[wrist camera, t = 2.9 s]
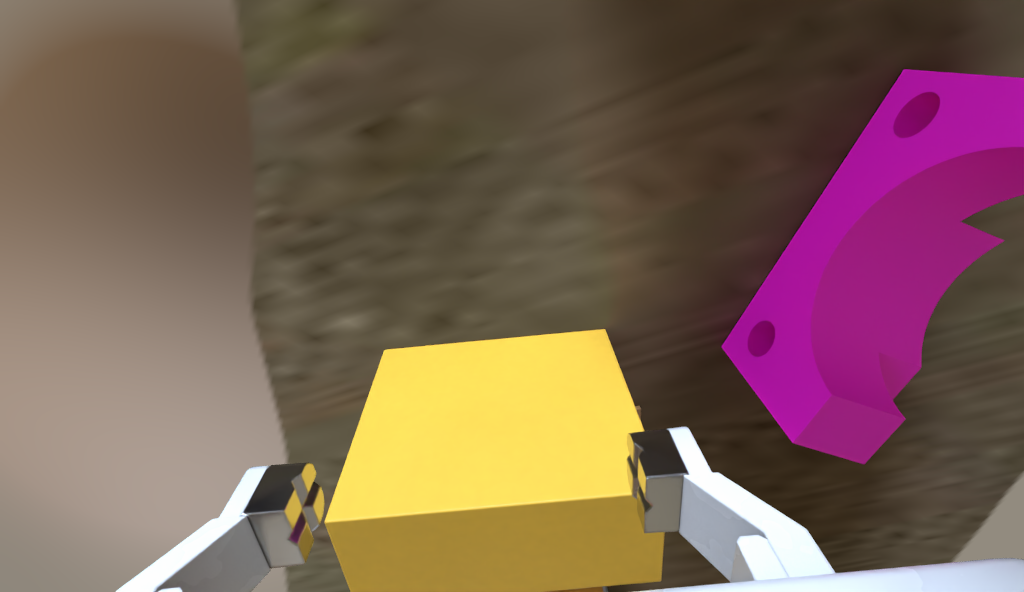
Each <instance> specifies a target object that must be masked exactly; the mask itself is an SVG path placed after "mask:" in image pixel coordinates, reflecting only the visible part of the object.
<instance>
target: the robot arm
mask: <svg viewBox="0 0 1024 592" xmlns="http://www.w3.org/2000/svg"><path fill="white" fill-rule="evenodd" d="M627 447H628V450H629V453H630V455H629V456H628V457H627V475H628V481H629V486H630V490H631V493H632V496H633V497H634V498H635V499H637V512H638V515H639V518H640V521H641V524H642V528H643V531H644V533H657V532H673V531H679V533H680V534H681V535H682V536H683V537H684V538H685V539H686V540H687V541H688V542H689V543H690V544H691V545H692V546H694V547H695V548H696V549H697V550H698V551H699V552H700V553H701V554H702V555H703V556H704V557H705V558H706V559H707V560H708V561H709V562H710V563H711V564H712V565H713V566H714V567H716V568H717V569H718V570H719V571H720V572H721V573H722V574H723V575H724V576H725V577H726V578H727V579H728V580H729V581H730V583H723V584H711V585H700V586H689V587H678V588H667V589H656V590H645V591H634V592H1024V560H1023V559H1015V558H1000V559H984V560H975V561H965V562H955V563H943V564H932V565H921V566H910V567H899V568H888V569H877V570H866V571H855V572H844V573H835V572H834V570H833V569H832V567H831V565H830V564H829V562H828V561H827V559H826V558H825V556H824V555H823V553H822V552H821V550H820V549H819V547H818V546H817V544H816V543H815V541H814V540H813V538H812V537H811V535H810V533H809V532H808V530H807V529H806V528H804V527H803V526H801V525H799V524H798V523H796V522H795V521H793V520H792V519H790V518H789V517H787V516H785V515H784V514H782V513H781V512H779V511H778V510H776V509H775V508H773V507H771V506H770V505H768V504H767V503H765V502H764V501H762V500H760V499H759V498H757V497H756V496H754V495H753V494H751V493H750V492H748V491H746V490H745V489H743V488H742V487H740V486H739V485H737V484H736V483H734V482H732V481H731V480H729V479H728V478H726V477H725V476H723V475H721V474H720V473H718V472H717V473H712V471H711V469H710V467H709V465H708V464H707V462H706V460H705V458H704V456H703V454H702V452H701V450H700V448H699V447H698V445H697V443H696V441H695V439H694V437H693V435H692V433H691V431H690V430H689V428H687V427H678V428H669V429H662V430H652V431H642V432H632V433H628V435H627ZM315 476H316V471H315V469H314V466H313V464H311V463H296V464H282V465H271V466H259V467H251V468H250V469H248V470H247V471H246V473H245V474H244V476H243V478H242V480H241V481H240V483H239V485H238V486H237V488H236V490H235V492H234V493H233V495H232V496H231V498H230V500H229V502H228V503H227V505H226V507H225V508H224V510H223V512H222V513H221V515H220V517H219V518H218V519H212V520H211V521H209V522H208V523H207V524H205V525H204V526H203V527H201V528H200V529H199V530H197V531H196V532H194V533H193V534H192V535H191V536H189V537H188V538H187V539H185V540H184V541H183V542H181V543H180V544H178V545H177V546H176V547H175V548H173V549H172V550H170V551H169V552H168V553H166V554H165V555H164V556H162V557H161V558H160V559H158V560H157V561H156V562H154V563H153V564H152V565H150V566H149V567H148V568H146V569H145V570H144V571H142V572H141V573H140V574H138V575H137V576H136V577H134V578H133V579H132V580H130V581H129V582H128V583H126V584H125V585H124V586H122V587H121V588H120V589H118V590H117V591H116V592H251V591H252V590H253V589H254V588H255V587H256V586H257V585H258V583H259V582H260V581H261V580H262V579H263V578H264V577H265V576H266V575H267V574H268V573H269V571H270V568H278V567H287V566H295V565H303V564H305V563H306V560H307V558H308V555H309V552H310V550H311V547H312V544H313V541H314V539H313V537H312V534H311V532H312V531H313V530H315V529H316V528H317V527H318V526H319V525H320V522H321V519H322V516H323V510H324V496H323V492H322V489H321V486H319V485H318V484H317V483H315V482H314V478H315Z"/></svg>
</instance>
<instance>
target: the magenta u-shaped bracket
mask: <svg viewBox="0 0 1024 592" xmlns="http://www.w3.org/2000/svg"><path fill="white" fill-rule="evenodd" d="M1020 195H1024V78H1015V77H1002V76H988V75H975V74H962V73H948V72H935V71H922V70H909V69H904V70H903V71H902V73H901V74H900V76H899V77H898V79H897V80H896V82H895V84H894V85H893V87H892V88H891V90H890V91H889V93H888V94H887V96H886V97H885V99H884V100H883V102H882V103H881V105H880V106H879V108H878V109H877V111H876V112H875V114H874V115H873V117H872V118H871V120H870V121H869V123H868V125H867V126H866V128H865V129H864V131H863V132H862V134H861V135H860V137H859V138H858V140H857V141H856V143H855V144H854V146H853V147H852V149H851V150H850V152H849V153H848V155H847V156H846V158H845V159H844V161H843V162H842V164H841V166H840V167H839V169H838V170H837V172H836V173H835V175H834V176H833V178H832V179H831V181H830V182H829V184H828V185H827V187H826V188H825V190H824V191H823V193H822V194H821V196H820V197H819V199H818V200H817V202H816V204H815V205H814V207H813V208H812V210H811V211H810V213H809V214H808V216H807V217H806V219H805V220H804V222H803V223H802V225H801V226H800V228H799V229H798V231H797V232H796V234H795V235H794V237H793V238H792V240H791V241H790V243H789V245H788V246H787V248H786V249H785V251H784V252H783V254H782V255H781V257H780V258H779V260H778V261H777V263H776V264H775V266H774V267H773V269H772V270H771V272H770V273H769V275H768V276H767V278H766V279H765V281H764V282H763V284H762V286H761V287H760V289H759V290H758V292H757V293H756V295H755V296H754V298H753V299H752V301H751V302H750V304H749V305H748V307H747V308H746V310H745V311H744V313H743V314H742V316H741V317H740V319H739V320H738V322H737V323H736V325H735V327H734V328H733V330H732V331H731V333H730V334H729V336H728V337H727V339H726V340H725V342H724V343H723V345H722V346H721V347H722V348H723V350H724V351H725V352H726V354H727V355H728V357H729V358H730V359H731V361H732V362H733V363H734V365H735V366H736V367H737V369H738V370H739V371H740V373H741V374H742V375H743V377H744V378H745V379H746V381H747V382H748V383H749V385H750V386H751V388H752V389H753V390H754V392H755V393H756V394H757V396H758V397H759V398H760V400H761V401H762V402H763V404H764V405H765V406H766V408H767V409H768V410H769V412H770V413H771V414H772V416H773V417H774V419H775V420H776V421H777V423H778V424H779V425H780V427H781V428H782V429H783V431H784V432H785V433H786V435H787V436H788V437H789V439H790V440H791V441H792V443H794V444H797V445H801V446H804V447H807V448H811V449H814V450H818V451H821V452H824V453H828V454H831V455H834V456H838V457H841V458H844V459H848V460H851V461H854V462H858V463H861V464H865V463H866V462H867V461H868V460H869V459H870V457H871V456H872V455H873V454H874V453H875V452H876V451H877V450H878V449H879V448H880V447H881V445H882V444H883V443H884V442H885V441H886V440H887V439H888V438H889V437H890V436H891V434H892V433H893V432H894V431H895V430H896V429H897V428H898V427H899V426H900V425H901V424H902V422H903V421H904V420H905V417H904V416H903V415H902V414H901V412H900V411H899V410H898V408H897V407H896V405H895V403H894V402H893V399H894V398H895V397H896V396H897V395H898V393H899V392H900V391H901V390H902V389H903V388H904V387H905V385H906V384H907V383H908V382H909V381H910V380H911V379H912V378H913V376H914V375H915V374H916V373H917V372H918V371H919V370H920V368H921V353H922V344H923V339H924V334H925V331H926V327H927V324H928V321H929V319H930V317H931V315H932V312H933V310H934V308H935V307H936V305H937V303H938V301H939V300H940V298H941V297H942V295H943V294H944V292H945V291H946V290H947V288H948V287H949V286H950V285H951V283H952V282H953V281H954V280H955V279H956V278H957V277H958V276H959V275H960V274H961V273H962V272H963V271H964V270H965V269H966V268H967V267H968V266H969V265H970V264H972V263H973V262H974V261H975V260H976V259H978V258H979V257H980V256H982V255H983V254H984V253H986V252H987V251H989V250H990V249H992V248H993V247H995V246H997V245H998V244H1000V243H1002V242H1003V241H1004V240H1002V239H999V238H997V237H995V236H992V235H990V234H988V233H985V232H983V231H981V230H978V229H976V228H974V227H971V226H969V225H967V224H965V223H962V222H960V221H962V220H964V219H966V218H967V217H969V216H971V215H973V214H975V213H977V212H979V211H981V210H983V209H985V208H987V207H989V206H992V205H994V204H997V203H999V202H1002V201H1005V200H1008V199H1011V198H1014V197H1017V196H1020Z"/></svg>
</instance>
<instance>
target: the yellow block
mask: <svg viewBox="0 0 1024 592" xmlns="http://www.w3.org/2000/svg"><path fill="white" fill-rule="evenodd" d="M642 431H644V428H643V426H642V423H641V421H640V418H639V415H638V413H637V410H636V408H635V405H634V403H633V400H632V397H631V395H630V392H629V390H628V387H627V384H626V382H625V379H624V377H623V374H622V371H621V369H620V366H619V364H618V361H617V358H616V356H615V353H614V351H613V348H612V346H611V343H610V340H609V338H608V335H607V333H606V330H605V329H600V330H589V331H578V332H568V333H557V334H547V335H536V336H525V337H515V338H504V339H494V340H483V341H472V342H462V343H451V344H441V345H430V346H419V347H409V348H398V349H388V350H384V352H383V355H382V358H381V361H380V364H379V367H378V370H377V372H376V375H375V378H374V381H373V384H372V387H371V390H370V393H369V395H368V398H367V401H366V404H365V407H364V410H363V413H362V416H361V418H360V421H359V424H358V427H357V430H356V433H355V436H354V439H353V441H352V444H351V447H350V450H349V453H348V456H347V459H346V462H345V464H344V467H343V470H342V473H341V476H340V479H339V482H338V485H337V487H336V490H335V493H334V496H333V499H332V502H331V505H330V508H329V510H328V513H327V516H326V519H325V525H326V527H327V530H328V533H329V535H330V538H331V541H332V543H333V546H334V549H335V551H336V554H337V557H338V559H339V562H340V565H341V567H342V570H343V573H344V575H345V578H346V581H347V583H348V586H349V589H350V591H351V592H546V591H558V590H569V589H580V588H591V587H603V586H614V585H625V584H636V583H648V582H659V581H661V577H662V562H663V548H664V534H665V532H657V533H644V531H643V528H642V524H641V521H640V518H639V515H638V512H637V499H635V498H634V497H633V496H632V493H631V490H630V486H629V481H628V475H627V457H628V456H629V455H630V453H629V450H628V447H627V435H628V433H632V432H642Z"/></svg>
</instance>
